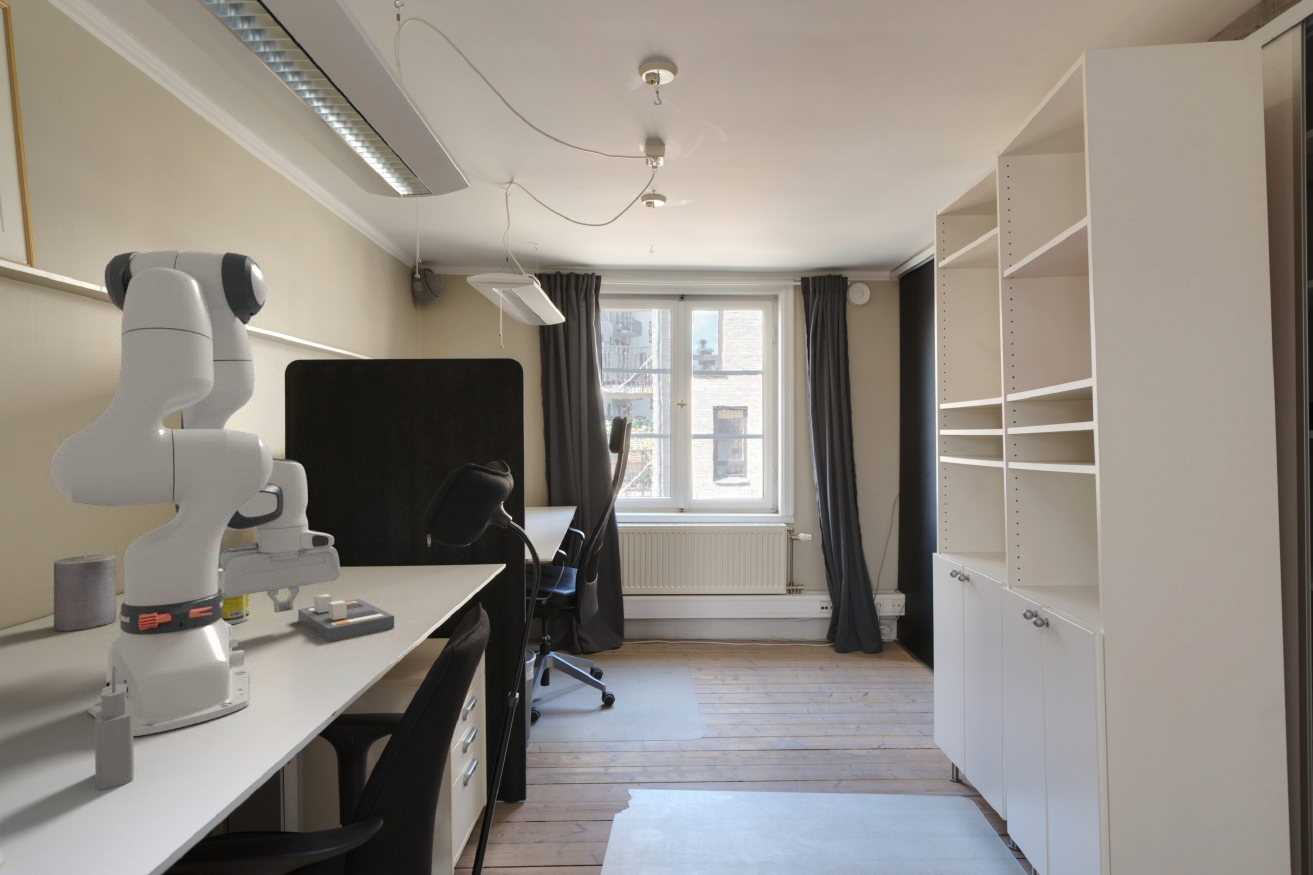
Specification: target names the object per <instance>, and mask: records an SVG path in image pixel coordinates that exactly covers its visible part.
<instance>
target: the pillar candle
mask: <svg viewBox="0 0 1313 875" xmlns="http://www.w3.org/2000/svg"><path fill="white" fill-rule="evenodd" d="M116 559H117V558H116V555H115V554H93V555H92V554H91V555H87V551H85V553H84V555H80V556H71V557H65V558H61V559H57V560H55V561H53V562H54V563H53V629H54V631H57V632H58V631H59V632H70V631H81V630H82V631H83V630H89V629H92V628H96V627H99V626H104V625H110V624H112V623H114V622H115V621H116V620H117V584H116V583H117V577H116V576H117V574H116V572H117V571H116V569H117V568H116V563H117V562H116V561H117V560H116Z"/></svg>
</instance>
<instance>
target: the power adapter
mask: <svg viewBox="0 0 1313 875" xmlns="http://www.w3.org/2000/svg"><path fill="white" fill-rule="evenodd" d="M100 699H101V701H102V707H101V708H99V709H97V712H96V717H94V718H95V719H94V754H95V755H94V762H95V763H94V767H95V768H94V770H95V771H94V772H95V776H94V777H95V780H94V781H95V790H96V791H104V790H105V791H106V790H108V789H113V788H115V787H119V786H123V785H126V784H129V783H131V782H132V781H134V771H135V770H134V769H135V766H134V765H135V762H134V760H135V759H134V758H135V756H134V736H133V702H127V685H126V684H116V666H113V671H112V685H110V686H108V687H106V686H105V687H104V688H102V690H101V696H100Z"/></svg>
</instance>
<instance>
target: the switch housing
mask: <svg viewBox="0 0 1313 875" xmlns="http://www.w3.org/2000/svg"><path fill="white" fill-rule="evenodd" d="M343 601H344V600H343ZM344 602H346V618H343V619H338V620H332V619H330V618H329V611H327V612H322V613H317V612H316V611H314V606H309V607H304V608H299V609H297V611H298V612H297V614H298V617H297V618H298V620H297V621H298V622H300V623H301V624H302V625H303V626H304V627H307V629H310V631H312V632H314V633H315V634H317V635H318V636H320V638H322V639H324V640H326V641H327V642H335V641H340V640H343V639H349V638H354V637H358V636H363V635H366V634H367V635H368V634H372V633H373V634H374V633H376V632H381V631H386V630H391V629H395V615H393V614H392V613H390V612H387V611H385V610H384V609H381V608H378V607H377V606H375V605H373V604H371V603H368V602H366V601H364V600H362V599H360V598H356V599H355V598H354V599H350V600H345V601H344Z"/></svg>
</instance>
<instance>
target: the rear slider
mask: <svg viewBox="0 0 1313 875" xmlns="http://www.w3.org/2000/svg"><path fill="white" fill-rule="evenodd" d="M313 597H314V598H313V599H314V600H313V602H314V603H313V604H314V606H313V607H314V611H316V612H317V613H322V612H327V611H329V602H332V596H331V595H330V594H328V593H325V594H318V595H314V596H313Z"/></svg>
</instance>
